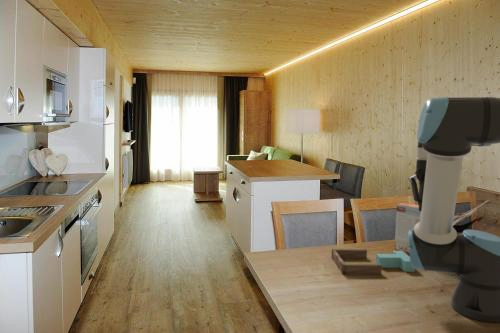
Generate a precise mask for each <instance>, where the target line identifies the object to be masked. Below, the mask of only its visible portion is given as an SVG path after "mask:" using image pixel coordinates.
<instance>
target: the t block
mask: <svg viewBox="0 0 500 333" xmlns="http://www.w3.org/2000/svg"><path fill="white" fill-rule="evenodd" d="M375 264H381V265H382V268H385V269H386V268H388V269H390V268H392V269H394V268H396V269H401V270H402V271H403V272H409V273H411V272H413V273H414V272H416V269H415V268H413V267H412V266H411V263H410V255H409V254H406V253H405V252H403V251H395V250H392V253H376V256H375Z"/></svg>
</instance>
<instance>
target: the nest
mask: <svg viewBox="0 0 500 333" xmlns="http://www.w3.org/2000/svg"><path fill="white" fill-rule="evenodd" d="M367 253H368V250H367V248H364V249H361V248H360V249H359V248H356V249H355V248H353V249H352V248H351V249H350V248H349V249H348V248H347V249H346V248H343V249H342V248H341V249H338V248H336V249H335V248H331V259H332V261H333V262H334V264H335V265H336V267H337V268H338V269H339V271H340V273H341V274H342V275H343V276H345V275H355V276H356V275H357V276H358V275H363V276H364V275H367V276H368V275H371V276H373V275H379V276H380V275H382V265H381V264H376V263H374V264H373V263H372V264H371V263H363V264H362V263H346V262H345V261H344V260H343V259H352V260H353V259H357V260H359V259H364V260H365V259H367V258H368V254H367Z"/></svg>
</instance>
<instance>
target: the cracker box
mask: <svg viewBox="0 0 500 333" xmlns="http://www.w3.org/2000/svg"><path fill="white" fill-rule="evenodd" d="M420 213H421V212H420V211H419V204H414V203H408V202H407V203H406V202H400V203H397V204H396V218H395V232H394V234H395V236H394V251H403V252H405V253H406V254H407V255H408V256H410V253H409V239H408V231H410V230H414V227H415V225H416V224H417V223H418V222H420Z"/></svg>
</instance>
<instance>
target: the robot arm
mask: <svg viewBox="0 0 500 333" xmlns="http://www.w3.org/2000/svg"><path fill="white" fill-rule="evenodd" d="M417 127H418V128H417V132H416V134H417V135H416V140H417V150H416V151H417V152H416V157H417V159H416V166H415V168H416V169H415V172H414V175H412V176H408V180H409V182H410V184H411V185H410V186H411V190H412V191H411V192H412V196H413V200H414V201H415V202H416V203H418V205H419V211H420V212H421V213H420V222H418V223H417V224H416V225H415V227H414V230H410V231H408V239H409V253H410V255H409V257H410V263H411V266H412V267H413V268H415V270H421V271H425V272H427V271H429V272H430V271H431V272H436V273H437V272H439V273H445V274H454V275H459V281H458V283H457V284H456V287H455V289H454V292H453V293H452V294H451V299H450V300H451V302H450V306H451V307H452V309H454V311H456V312H457V313H458V314H461V315H463V316H465V317H467V318H470V319H473V320H477V321H480V322H485V323H494V324H495V323H500V236H498V235H495V234H493V233H489V232H487V231H481V230H476V229H464V230H463V232H462V233H461V234H458V232H457V230H456V229H455V228H454V227H453V224H454V217H455V213H456V212H455V211H456V207H457V204H456V203H457V198H458V192H459V186H460V185H459V184H460V180H461V172H462V167H463V166H462V165H463V160H464V157H465V156H467V155H469V153H471V151H472V147H478V148H479V147H480V148H481V147H490V146H491V145H493V144H494V145H495V144H500V97H496V96H485V97H484V96H483V97H478V96H477V97H468V96H467V97H448V96H444V97H434V98H429V99H428V100H426V101H425V102H424V105H423V107H422V109H421V112H420V116H419V120H418V126H417ZM417 181H418V183H417ZM418 185H419V186H418ZM418 187H419V188H418Z"/></svg>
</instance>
